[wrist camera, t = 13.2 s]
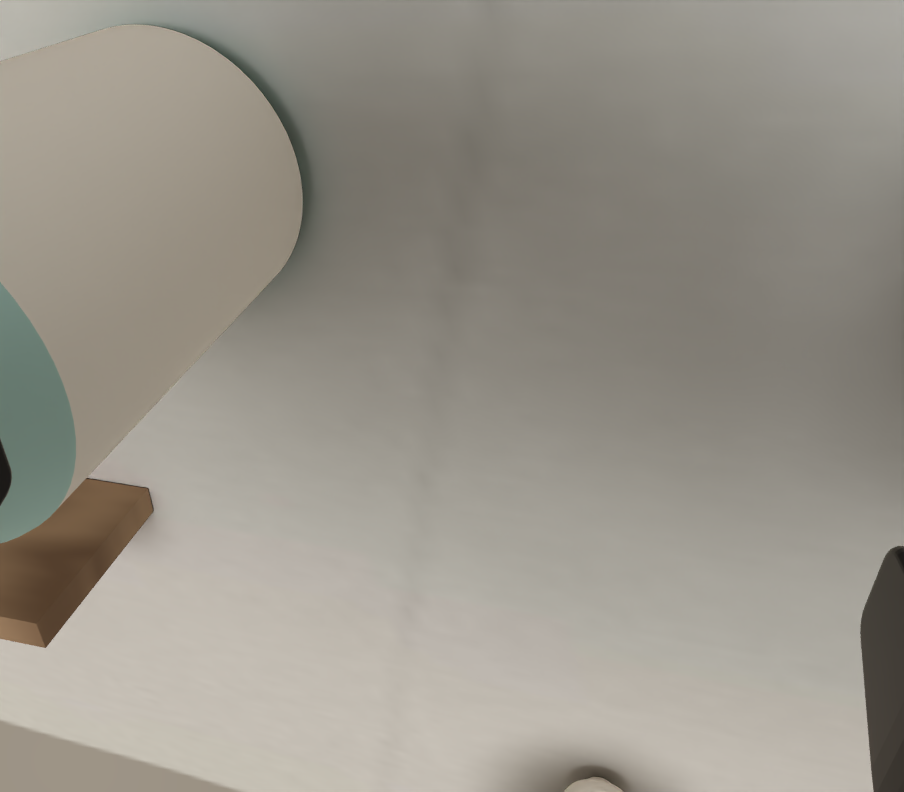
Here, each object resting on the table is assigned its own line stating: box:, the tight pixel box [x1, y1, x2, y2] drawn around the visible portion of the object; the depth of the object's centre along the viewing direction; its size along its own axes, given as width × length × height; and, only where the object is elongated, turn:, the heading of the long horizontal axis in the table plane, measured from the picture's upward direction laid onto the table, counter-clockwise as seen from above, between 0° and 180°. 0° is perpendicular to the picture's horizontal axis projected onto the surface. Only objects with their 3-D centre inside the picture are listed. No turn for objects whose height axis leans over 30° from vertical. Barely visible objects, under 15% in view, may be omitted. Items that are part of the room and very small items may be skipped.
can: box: [0, 25, 303, 543], centre depth 17 cm, size 7×7×12 cm
